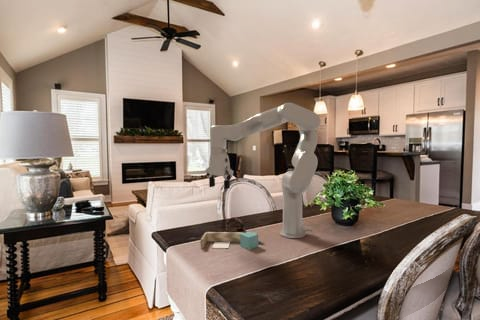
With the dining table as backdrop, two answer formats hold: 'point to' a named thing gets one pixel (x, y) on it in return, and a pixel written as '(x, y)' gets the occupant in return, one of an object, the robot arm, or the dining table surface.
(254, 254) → the dining table surface
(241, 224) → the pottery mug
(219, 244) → the pad
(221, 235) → the wooden l-shaped bar
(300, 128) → the robot arm
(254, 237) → the cube
